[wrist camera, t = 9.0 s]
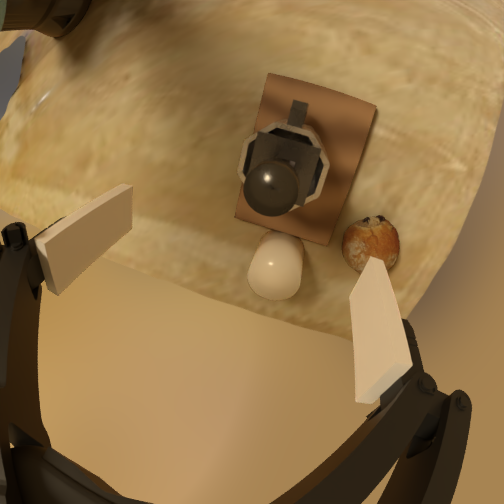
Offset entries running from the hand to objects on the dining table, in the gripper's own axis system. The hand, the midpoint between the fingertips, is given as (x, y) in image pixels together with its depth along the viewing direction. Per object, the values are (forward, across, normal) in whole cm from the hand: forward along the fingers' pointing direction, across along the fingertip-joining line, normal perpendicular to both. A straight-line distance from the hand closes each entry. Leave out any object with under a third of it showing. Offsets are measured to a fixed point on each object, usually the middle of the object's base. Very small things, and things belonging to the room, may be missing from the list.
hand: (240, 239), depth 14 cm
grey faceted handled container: (+29, 0, +1) cm, 29 cm away
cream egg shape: (+30, +3, -17) cm, 35 cm away
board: (+30, +2, -1) cm, 30 cm away
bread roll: (+30, +17, -10) cm, 36 cm away
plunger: (+26, 0, 0) cm, 26 cm away
